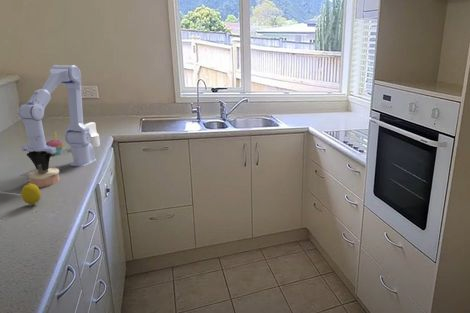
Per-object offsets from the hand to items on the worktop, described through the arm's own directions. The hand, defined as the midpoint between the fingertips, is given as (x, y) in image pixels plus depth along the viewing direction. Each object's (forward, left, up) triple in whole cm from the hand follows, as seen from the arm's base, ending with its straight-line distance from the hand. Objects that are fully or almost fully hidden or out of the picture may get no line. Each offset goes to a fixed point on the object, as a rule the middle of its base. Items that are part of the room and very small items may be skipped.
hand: (42, 169), depth 132 cm
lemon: (+17, +11, -6) cm, 21 cm away
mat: (-9, -10, -6) cm, 15 cm away
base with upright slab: (-49, -16, -6) cm, 52 cm away
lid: (0, 0, -2) cm, 2 cm away
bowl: (0, 0, -6) cm, 6 cm away
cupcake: (-32, -24, -6) cm, 40 cm away
